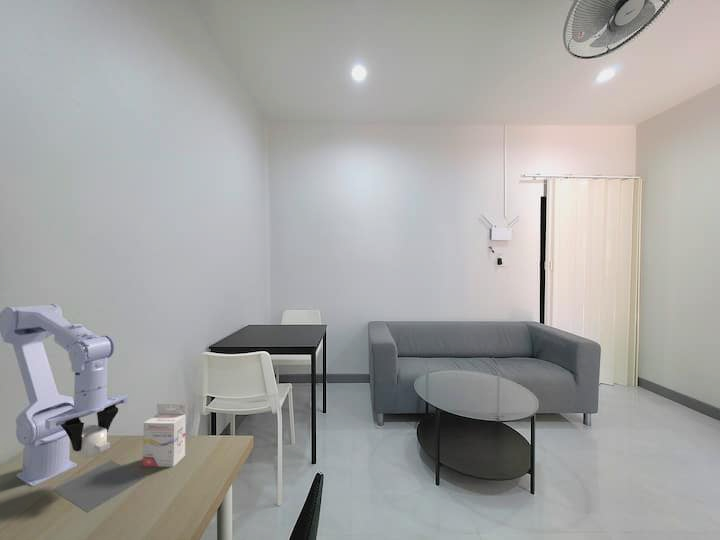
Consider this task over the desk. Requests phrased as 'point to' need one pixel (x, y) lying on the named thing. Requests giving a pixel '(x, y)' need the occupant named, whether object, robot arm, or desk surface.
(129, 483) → the desk mat
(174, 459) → the ink cartridge box
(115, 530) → the desk surface
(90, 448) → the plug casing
